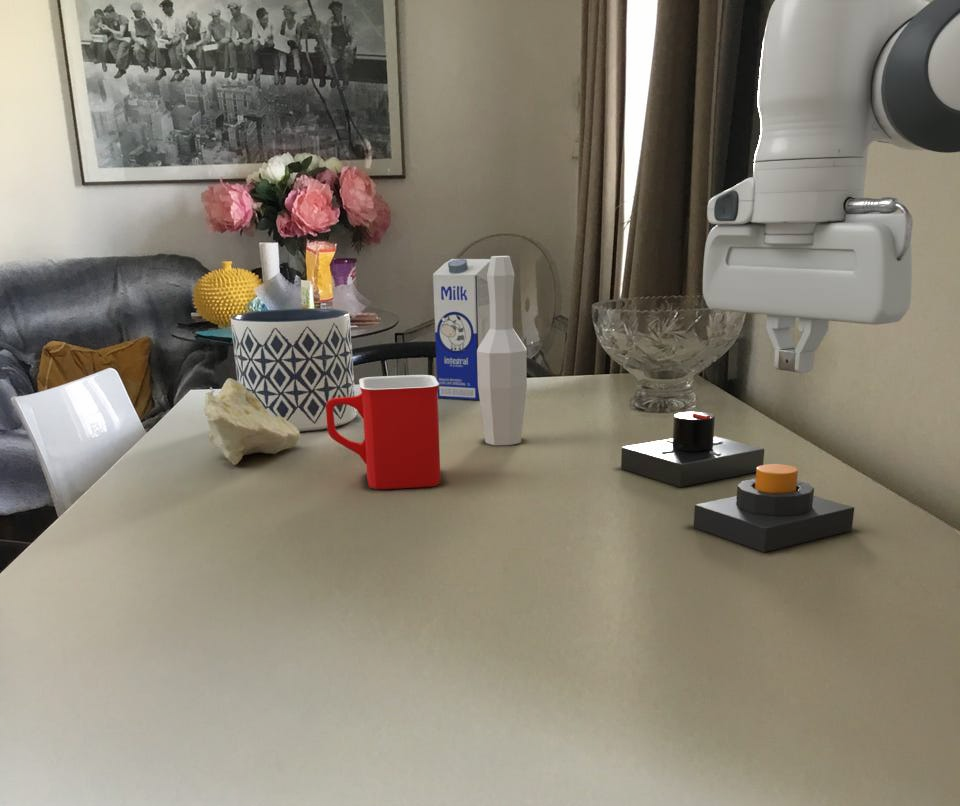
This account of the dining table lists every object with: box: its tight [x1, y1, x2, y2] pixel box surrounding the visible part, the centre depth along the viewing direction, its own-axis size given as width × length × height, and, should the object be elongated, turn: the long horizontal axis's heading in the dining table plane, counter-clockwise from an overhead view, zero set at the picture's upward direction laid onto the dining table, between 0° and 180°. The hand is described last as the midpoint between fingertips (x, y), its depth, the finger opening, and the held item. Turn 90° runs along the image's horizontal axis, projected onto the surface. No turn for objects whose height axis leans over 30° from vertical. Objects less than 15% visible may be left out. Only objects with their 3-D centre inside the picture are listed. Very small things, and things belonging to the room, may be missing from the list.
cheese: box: [203, 377, 301, 466], centre depth 126 cm, size 15×7×15 cm
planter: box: [230, 308, 357, 432], centre depth 145 cm, size 16×16×14 cm
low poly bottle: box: [477, 255, 528, 446], centre depth 129 cm, size 6×6×22 cm
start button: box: [755, 463, 799, 493], centre depth 95 cm, size 4×4×2 cm
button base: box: [693, 477, 855, 553], centre depth 96 cm, size 11×9×4 cm
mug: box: [326, 374, 442, 490], centre depth 114 cm, size 12×8×11 cm
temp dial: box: [672, 411, 716, 452], centre depth 116 cm, size 4×4×4 cm
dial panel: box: [620, 435, 765, 488], centre depth 117 cm, size 12×10×3 cm
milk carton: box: [431, 258, 491, 401], centre depth 160 cm, size 7×7×20 cm
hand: (793, 370), depth 92 cm, fingers closed
